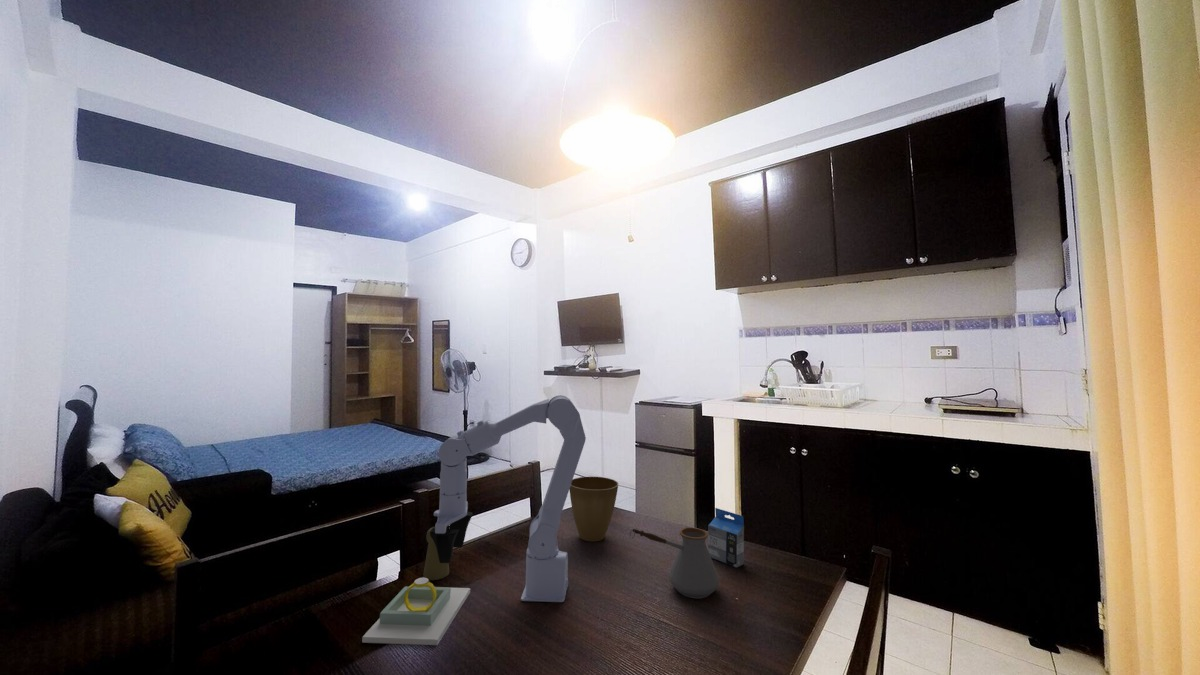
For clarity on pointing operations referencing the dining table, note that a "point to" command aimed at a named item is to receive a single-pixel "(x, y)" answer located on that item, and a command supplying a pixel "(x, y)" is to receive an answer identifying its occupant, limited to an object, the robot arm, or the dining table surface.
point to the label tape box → (726, 538)
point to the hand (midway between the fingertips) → (451, 554)
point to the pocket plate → (417, 617)
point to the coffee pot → (690, 563)
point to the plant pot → (593, 505)
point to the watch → (420, 583)
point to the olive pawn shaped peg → (434, 562)
